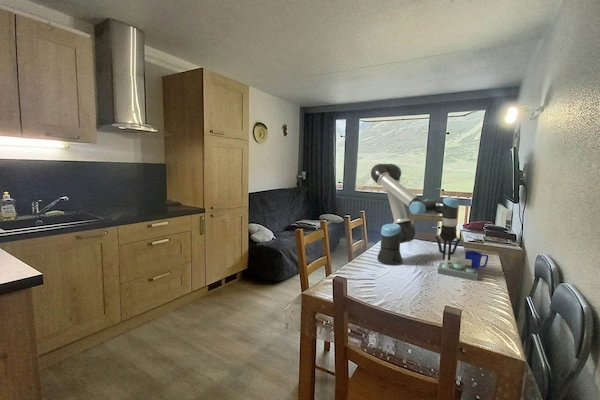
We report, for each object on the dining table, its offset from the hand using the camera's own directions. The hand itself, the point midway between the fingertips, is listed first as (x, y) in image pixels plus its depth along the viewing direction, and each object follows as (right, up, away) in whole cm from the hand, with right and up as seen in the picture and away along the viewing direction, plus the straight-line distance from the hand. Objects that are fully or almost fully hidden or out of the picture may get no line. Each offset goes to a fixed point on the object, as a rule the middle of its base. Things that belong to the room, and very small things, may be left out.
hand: (446, 265), depth 160 cm
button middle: (+5, -2, -3) cm, 6 cm away
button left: (0, -3, 0) cm, 3 cm away
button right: (+10, -4, -6) cm, 12 cm away
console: (+5, -4, -3) cm, 7 cm away
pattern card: (+9, -3, +4) cm, 10 cm away
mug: (+20, -4, +4) cm, 20 cm away
